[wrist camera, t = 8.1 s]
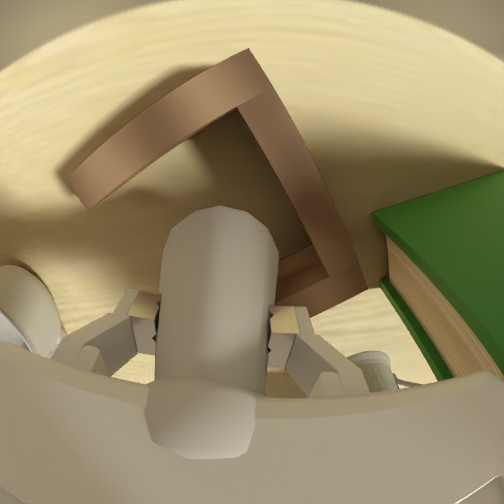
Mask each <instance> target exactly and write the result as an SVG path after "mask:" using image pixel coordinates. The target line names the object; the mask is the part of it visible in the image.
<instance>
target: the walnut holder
mask: <svg viewBox="0 0 504 504" xmlns="http://www.w3.org/2000/svg"><path fill="white" fill-rule="evenodd" d="M237 109H238V111H239V112H240V114H241V116H242V117H243V119H244V120H245V122H246V124H247V125H248V127H249V129H250V130H251V132H252V134H253V135H254V137H255V139H256V141H257V142H258V144H259V146H260V147H261V149H262V151H263V153H264V154H265V156H266V158H267V160H268V161H269V163H270V165H271V167H272V168H273V170H274V172H275V174H276V176H277V177H278V179H279V181H280V183H281V185H282V186H283V188H284V190H285V192H286V194H287V196H288V197H289V199H290V201H291V203H292V205H293V207H294V209H295V211H296V212H297V214H298V216H299V218H300V220H301V222H302V224H303V226H304V228H305V230H306V232H307V234H308V236H309V238H310V240H311V242H312V245H310V246H308V247H306V248H304V249H302V250H300V251H298V252H296V253H294V254H292V255H290V256H288V257H286V258H285V259H283V260H281V261H279V262H278V273H277V284H276V294H275V304H274V305H278V306H304V307H306V308H307V310H308V314H309V317H310V318H311V317H313V316H315V315H317V314H319V313H321V312H323V311H326V310H328V309H330V308H332V307H334V306H336V305H338V304H340V303H342V302H344V301H346V300H348V299H350V298H352V297H354V296H355V295H357V294H359V293H361V292H363V291H365V290H367V289H368V288H367V285H366V282H365V279H364V277H363V274H362V271H361V269H360V266H359V263H358V261H357V258H356V255H355V253H354V250H353V248H352V245H351V243H350V240H349V238H348V235H347V233H346V231H345V228H344V226H343V223H342V221H341V219H340V216H339V214H338V212H337V210H336V207H335V205H334V203H333V201H332V198H331V196H330V194H329V192H328V190H327V187H326V185H325V183H324V181H323V179H322V177H321V175H320V173H319V171H318V169H317V167H316V165H315V162H314V160H313V158H312V156H311V154H310V153H309V151H308V149H307V147H306V145H305V143H304V141H303V139H302V137H301V135H300V133H299V131H298V130H297V128H296V126H295V124H294V122H293V120H292V119H291V117H290V115H289V113H288V111H287V110H286V108H285V106H284V104H283V103H282V101H281V99H280V98H279V96H278V94H277V92H276V91H275V89H274V87H273V86H272V84H271V83H270V81H269V79H268V78H267V76H266V74H265V73H264V71H263V70H262V68H261V66H260V65H259V63H258V62H257V60H256V59H255V57H254V56H253V54H252V53H251V51H250V50H249V48H248V49H245V50H243V51H241V52H239V53H237V54H235V55H233V56H231V57H229V58H227V59H226V60H224V61H222V62H220V63H218V64H216V65H214V66H213V67H211V68H209V69H207V70H206V71H204V72H202V73H200V74H199V75H197V76H195V77H194V78H192V79H190V80H189V81H187V82H186V83H184V84H182V85H181V86H179V87H178V88H176V89H175V90H173V91H172V92H170V93H169V94H167V95H166V96H164V97H163V98H161V99H160V100H158V101H157V102H155V103H154V104H153V105H151V106H150V107H149V108H147V109H146V110H144V111H143V112H142V113H140V114H139V115H138V116H136V117H135V118H134V119H133V120H131V121H130V122H129V123H127V124H126V125H125V126H124V127H122V128H121V129H120V130H119V131H118V132H116V133H115V134H114V135H113V136H112V137H110V138H109V139H108V140H107V141H106V142H105V143H104V144H102V145H101V146H100V147H99V148H98V149H97V150H96V151H95V152H93V153H92V154H91V155H90V156H89V157H88V158H87V159H86V160H85V161H84V162H83V163H82V164H81V165H80V166H79V167H78V168H77V169H76V170H75V171H74V172H73V173H72V174H71V175H70V176H69V177H68V178H67V181H68V183H69V184H70V186H71V187H72V189H73V190H74V192H75V193H76V195H77V196H78V198H79V199H80V201H81V202H82V204H83V205H84V206H85V208H86V209H87V211H89V210H90V209H91V208H93V207H94V206H95V205H97V204H98V203H99V202H101V201H102V200H103V199H105V198H106V197H108V196H109V195H110V194H112V193H113V192H114V191H116V190H117V189H118V188H120V187H121V186H122V185H124V184H125V183H126V182H127V181H129V180H130V179H131V178H133V177H134V176H135V175H136V174H138V173H139V172H140V171H142V170H143V169H145V168H146V167H147V166H149V165H150V164H151V163H153V162H154V161H156V160H157V159H158V158H160V157H161V156H163V155H164V154H166V153H167V152H169V151H170V150H171V149H173V148H174V147H176V146H177V145H179V144H180V143H182V142H184V141H185V140H187V139H188V138H190V137H191V136H193V135H194V134H196V133H198V132H199V131H201V130H202V129H204V128H206V127H207V126H209V125H211V124H212V123H214V122H216V121H217V120H219V119H221V118H223V117H224V116H226V115H228V114H230V113H231V112H233V111H235V110H237Z"/></svg>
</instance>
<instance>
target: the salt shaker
mask: <svg viewBox="0 0 504 504" xmlns="http://www.w3.org/2000/svg"><path fill="white" fill-rule="evenodd" d="M278 261H279V252H278V250H277V247H276V245H275V243H274V241H273V238H272V236H271V234H270V232H269V230H268V228H267V227H266V226H265V225H264V224H262V223H261V222H260V221H258V220H257V219H256V218H255V217H253V216H252V215H251V214H249V213H248V212H247V211H243V210H239V209H235V208H231V207H227V206H222V205H218V206H213V207H209V208H205V209H201V210H197V211H194V212H193V213H191V214H190V215H189V216H187V217H186V218H185V219H183V220H182V221H181V222H180V223H178V224H177V225H176V226H175V227H173V228H172V229H171V231H170V233H169V236H168V239H167V241H166V244H165V247H164V250H163V254H162V263H161V272H160V283H159V293H162V297H161V304H160V308H159V319H158V325H157V331H156V344H155V381H153V382H151V383H148V384H146V385H150V388H149V392H148V398H147V404H146V408H145V410H144V415H145V419H146V422H147V426H148V429H149V433H150V436H151V439H152V442H153V443H155V444H157V445H159V446H161V447H163V448H165V449H167V450H169V451H171V452H173V453H176V454H178V455H180V456H182V457H184V458H187V459H220V458H235V457H238V456H240V455H242V454H244V453H246V452H247V450H248V447H249V444H250V441H251V437H252V434H253V431H254V428H255V419H254V418H255V413H256V408H257V403H258V399H259V398H261V397H266V398H269V397H268V396H265V395H264V391H265V383H266V375H267V366H268V358H269V355H268V342H267V341H268V333H269V321H270V315H269V305H274V304H275V294H276V284H277V273H278Z"/></svg>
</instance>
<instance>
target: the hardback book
mask: <svg viewBox="0 0 504 504" xmlns="http://www.w3.org/2000/svg"><path fill="white" fill-rule="evenodd" d="M372 215H373V222H374V224H375V225H376V226H377V227H378V228H379V229H380V230H381V231H382V232H384V233H385V234H386V239H387V250H388V263H389V276H388V277H386V278H383V279H380V288H381V289H382V291H383V292H384V294H385V295H386V297H387V298H388V300H389V301H390V303H391V304H392V306H393V307H394V309H395V310H396V312H397V313H398V315H399V316H400V318H401V320H402V321H403V323H404V324H405V326H406V327H407V329H408V331H409V332H410V334H411V336H412V337H413V339H414V340H415V342H416V344H417V345H418V347H419V349H420V350H421V352H422V354H423V356H424V357H425V359H426V361H427V362H428V364H429V366H430V368H431V370H432V371H433V373H434V375H435V377H436V379H437V380H438V382H439V381H443V380H447V379H452V378H456V377H459V376H463V375H467V374H470V373H474V372H477V371H481V370H487V371H489V372H491V373H493V374H494V375H496V376H497V377H499V378H500V379H502V380H503V381H504V170H503V171H500V172H497V173H494V174H491V175H487V176H484V177H481V178H478V179H475V180H472V181H469V182H466V183H462V184H459V185H456V186H453V187H450V188H447V189H444V190H440V191H437V192H434V193H431V194H428V195H425V196H422V197H419V198H415V199H412V200H409V201H406V202H403V203H400V204H397V205H394V206H390V207H387V208H384V209H381V210H378V211H375V212H372Z"/></svg>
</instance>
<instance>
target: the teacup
mask: <svg viewBox="0 0 504 504" xmlns="http://www.w3.org/2000/svg"><path fill="white" fill-rule="evenodd" d="M65 336H67V334H66V331H65V330H64V329H62V328H61V321H60V316H59V312H58V309H57V307H56V304H55V302H54V299H53V297H52V295H51V293H50V292H49V290H48V289H47V287H46V286H45V285H44V284H43V283H42V282H41V281H40V280H39V279H38V278H37V277H36V276H35V275H33V274H32V273H30V272H29V271H27V270H25V269H23V268H21V267H18V266H15V265H3V266H0V339H2V340H4V341H6V342H8V343H11V344H13V345H15V346H18V347H20V348H23V349H25V350H28V351H30V352H33V353H35V354H38V355H41V356H43V357H46V358H49V359H51V357H52V356H53V353H54V351H55V349H56V347H57V345H59V344H60V342H61V340H62V339H63V338H64V337H65Z"/></svg>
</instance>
